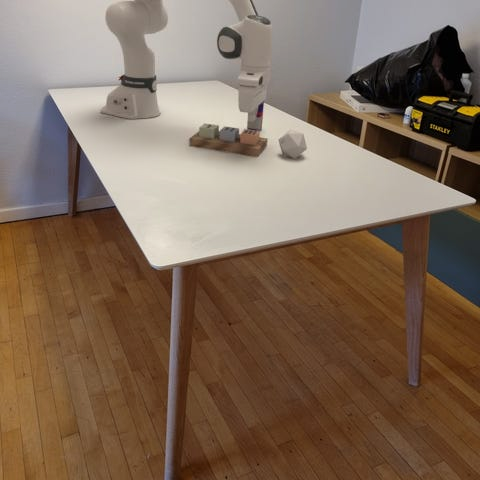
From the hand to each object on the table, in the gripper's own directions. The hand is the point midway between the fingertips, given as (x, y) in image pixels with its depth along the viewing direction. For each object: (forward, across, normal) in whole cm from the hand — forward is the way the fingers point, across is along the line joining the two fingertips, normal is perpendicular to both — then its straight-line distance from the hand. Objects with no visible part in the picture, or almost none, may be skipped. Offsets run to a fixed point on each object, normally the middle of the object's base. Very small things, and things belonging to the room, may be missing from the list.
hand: (252, 120), depth 154 cm
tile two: (+8, 0, -7) cm, 11 cm away
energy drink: (+10, -21, -4) cm, 24 cm away
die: (+10, 0, +14) cm, 17 cm away
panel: (+9, 0, -7) cm, 12 cm away
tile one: (+8, 0, -14) cm, 16 cm away
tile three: (+8, 0, 0) cm, 8 cm away
